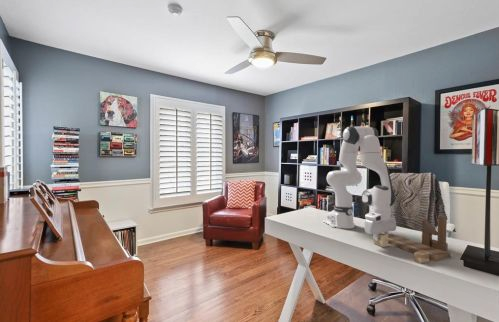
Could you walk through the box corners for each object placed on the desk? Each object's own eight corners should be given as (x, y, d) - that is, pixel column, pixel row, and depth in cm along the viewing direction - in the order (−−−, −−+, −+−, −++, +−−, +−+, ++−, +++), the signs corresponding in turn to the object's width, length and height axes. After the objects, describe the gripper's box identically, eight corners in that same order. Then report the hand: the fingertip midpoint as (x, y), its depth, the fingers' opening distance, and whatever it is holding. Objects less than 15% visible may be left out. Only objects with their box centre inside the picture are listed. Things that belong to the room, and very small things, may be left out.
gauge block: (373, 243, 137) (373, 232, 137) (378, 242, 139) (378, 231, 139) (382, 247, 132) (382, 235, 132) (388, 246, 133) (388, 234, 133)
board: (376, 239, 145) (376, 235, 145) (391, 236, 149) (391, 233, 149) (434, 260, 115) (434, 256, 115) (450, 257, 120) (450, 253, 120)
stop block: (414, 261, 115) (414, 252, 115) (422, 258, 117) (422, 250, 117) (420, 263, 112) (420, 255, 112) (429, 261, 114) (429, 253, 114)
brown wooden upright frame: (424, 243, 138) (425, 211, 137) (447, 250, 128) (448, 216, 128) (421, 244, 136) (422, 212, 135) (444, 251, 126) (445, 216, 126)
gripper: (389, 212, 142) (389, 235, 142) (362, 215, 134) (362, 240, 134) (399, 214, 136) (399, 239, 136) (372, 218, 128) (371, 244, 129)
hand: (380, 239), depth 135 cm, fingers closed on gauge block, 4 cm apart
